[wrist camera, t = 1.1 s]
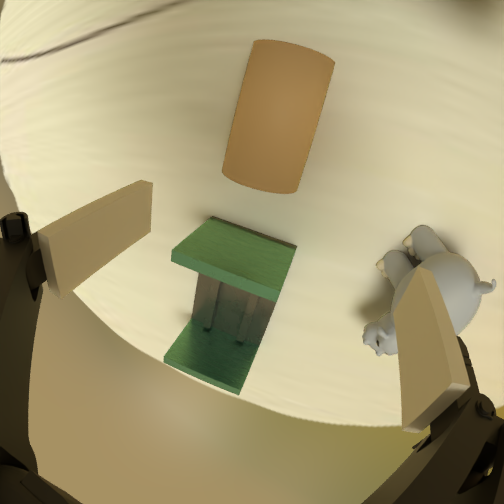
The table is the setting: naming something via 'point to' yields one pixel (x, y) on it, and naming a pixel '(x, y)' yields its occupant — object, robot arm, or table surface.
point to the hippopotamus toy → (447, 278)
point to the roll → (277, 116)
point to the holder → (228, 300)
